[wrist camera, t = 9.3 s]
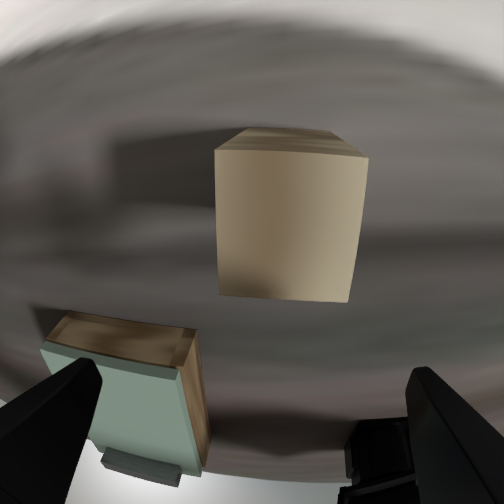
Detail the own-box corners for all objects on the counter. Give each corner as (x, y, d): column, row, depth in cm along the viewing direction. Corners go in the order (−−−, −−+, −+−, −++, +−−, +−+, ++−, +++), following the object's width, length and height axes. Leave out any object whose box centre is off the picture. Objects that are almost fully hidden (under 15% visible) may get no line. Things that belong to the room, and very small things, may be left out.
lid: (179, 369, 20) (166, 403, 17) (202, 469, 27) (197, 493, 24) (45, 341, 21) (26, 365, 18) (102, 445, 28) (93, 465, 25)
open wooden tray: (197, 329, 24) (183, 366, 20) (211, 437, 31) (205, 467, 27) (69, 310, 25) (45, 338, 21) (113, 417, 32) (101, 442, 28)
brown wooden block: (330, 131, 17) (368, 158, 9) (323, 215, 19) (347, 302, 11) (249, 127, 17) (214, 149, 9) (248, 211, 19) (219, 295, 11)
